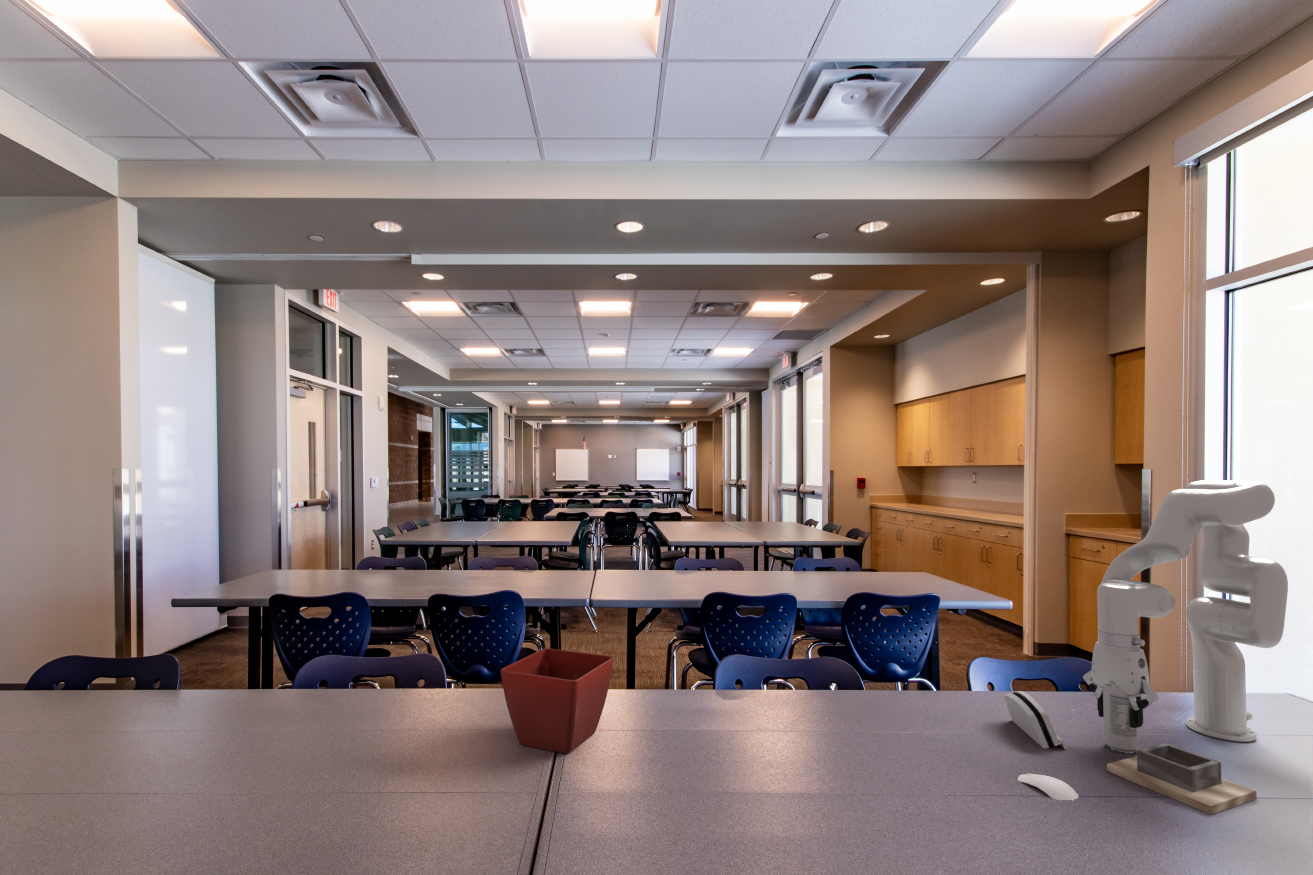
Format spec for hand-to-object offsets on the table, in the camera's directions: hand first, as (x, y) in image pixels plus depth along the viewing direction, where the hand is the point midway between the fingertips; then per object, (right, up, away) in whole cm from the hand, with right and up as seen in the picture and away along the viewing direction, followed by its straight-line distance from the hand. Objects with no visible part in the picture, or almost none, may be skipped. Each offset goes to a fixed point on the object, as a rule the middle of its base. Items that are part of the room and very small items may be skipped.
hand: (1119, 720), depth 144 cm
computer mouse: (-28, -6, -18) cm, 34 cm away
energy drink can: (0, -6, 0) cm, 6 cm away
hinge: (-15, -7, +7) cm, 18 cm away
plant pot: (-126, -4, 0) cm, 126 cm away
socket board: (0, -5, -17) cm, 18 cm away
